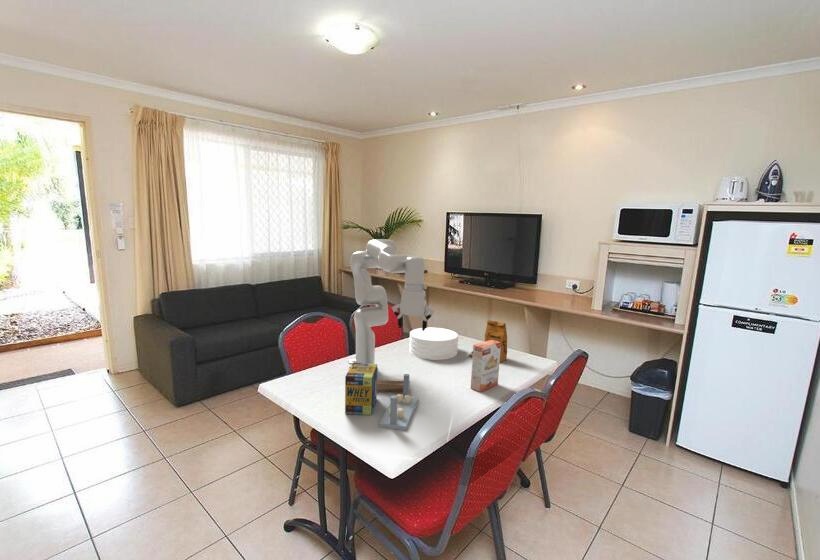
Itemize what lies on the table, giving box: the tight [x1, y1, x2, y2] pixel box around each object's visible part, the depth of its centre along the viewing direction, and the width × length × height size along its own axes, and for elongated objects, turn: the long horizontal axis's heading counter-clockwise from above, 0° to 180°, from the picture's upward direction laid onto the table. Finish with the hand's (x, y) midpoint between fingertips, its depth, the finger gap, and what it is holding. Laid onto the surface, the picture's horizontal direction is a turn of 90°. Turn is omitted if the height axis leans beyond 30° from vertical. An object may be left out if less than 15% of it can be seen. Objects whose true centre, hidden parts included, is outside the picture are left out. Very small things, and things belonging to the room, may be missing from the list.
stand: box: [378, 373, 419, 431], centre depth 150 cm, size 10×24×12 cm, turn 168°
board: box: [377, 379, 411, 394], centre depth 171 cm, size 4×16×4 cm, turn 88°
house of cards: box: [467, 350, 473, 359], centre depth 216 cm, size 9×9×8 cm
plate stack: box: [408, 326, 459, 361], centre depth 224 cm, size 28×28×12 cm
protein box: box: [344, 363, 378, 416], centre depth 155 cm, size 10×15×16 cm
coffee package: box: [484, 319, 508, 363], centre depth 214 cm, size 10×12×22 cm
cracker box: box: [470, 340, 501, 393], centre depth 177 cm, size 14×6×21 cm, turn 133°
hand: (412, 328), depth 157 cm, fingers open, 9 cm apart
